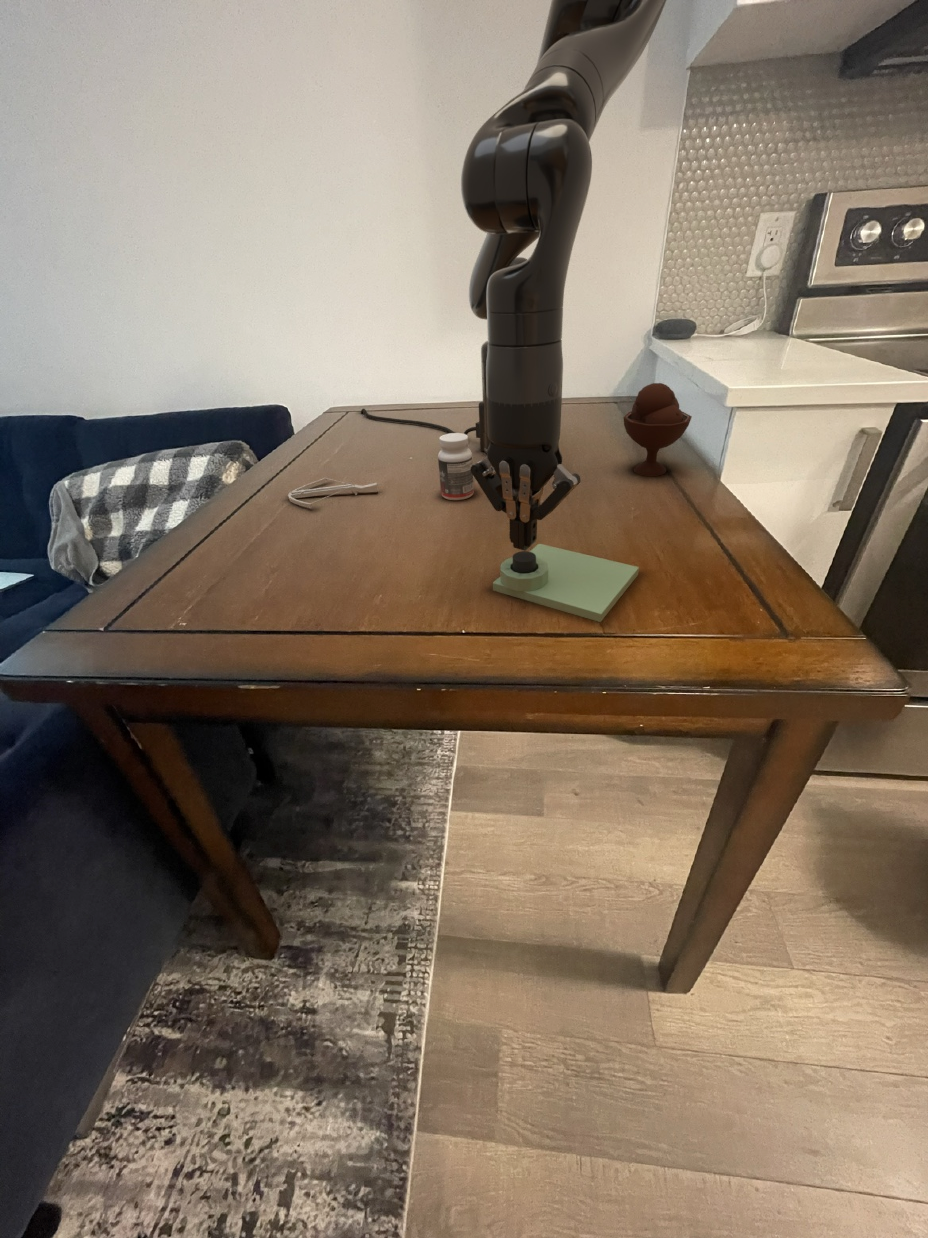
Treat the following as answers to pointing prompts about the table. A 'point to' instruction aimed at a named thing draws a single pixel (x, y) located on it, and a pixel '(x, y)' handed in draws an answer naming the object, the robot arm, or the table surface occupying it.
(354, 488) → the crossbow
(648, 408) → the ice cream bowl
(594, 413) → the table surface
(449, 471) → the pill bottle
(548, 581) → the scale
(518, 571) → the button
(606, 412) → the table surface
